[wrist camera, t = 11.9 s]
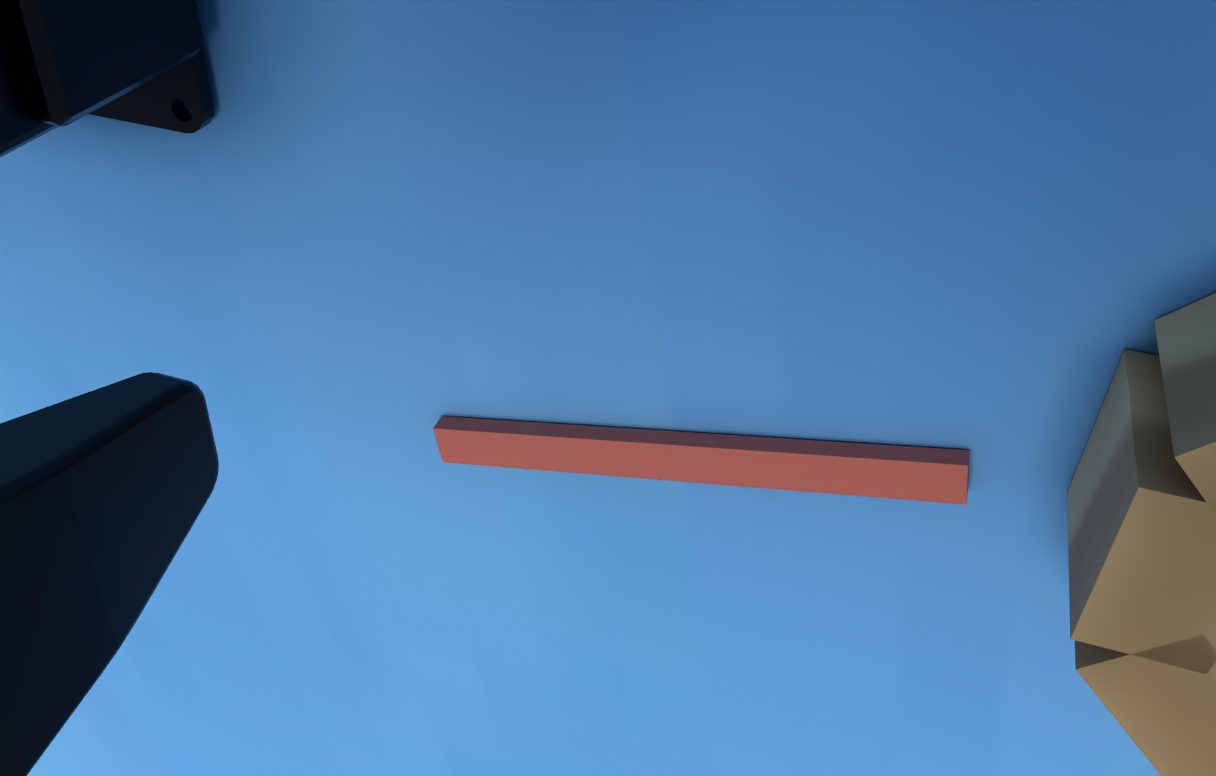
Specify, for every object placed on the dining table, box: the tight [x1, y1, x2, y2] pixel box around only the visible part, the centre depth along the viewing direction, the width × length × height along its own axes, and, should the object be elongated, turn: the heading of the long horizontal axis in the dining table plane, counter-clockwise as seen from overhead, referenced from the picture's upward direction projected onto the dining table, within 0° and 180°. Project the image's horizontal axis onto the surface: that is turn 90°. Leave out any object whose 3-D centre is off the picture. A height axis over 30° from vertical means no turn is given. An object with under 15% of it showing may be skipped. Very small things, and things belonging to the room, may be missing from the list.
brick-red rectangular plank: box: [433, 416, 969, 504], centre depth 24 cm, size 12×1×1 cm, turn 99°
